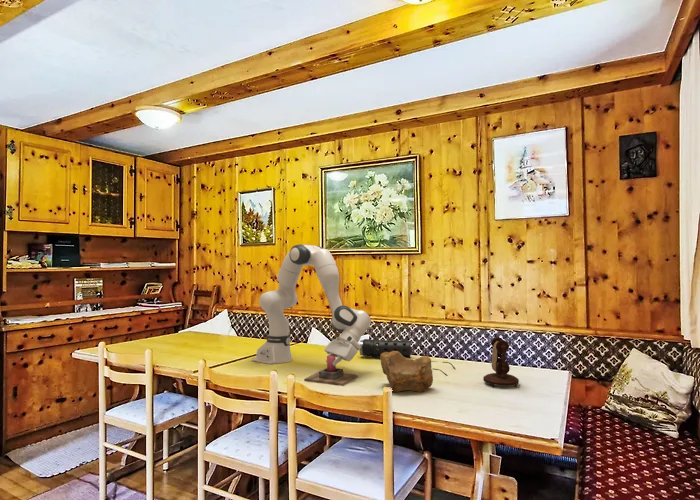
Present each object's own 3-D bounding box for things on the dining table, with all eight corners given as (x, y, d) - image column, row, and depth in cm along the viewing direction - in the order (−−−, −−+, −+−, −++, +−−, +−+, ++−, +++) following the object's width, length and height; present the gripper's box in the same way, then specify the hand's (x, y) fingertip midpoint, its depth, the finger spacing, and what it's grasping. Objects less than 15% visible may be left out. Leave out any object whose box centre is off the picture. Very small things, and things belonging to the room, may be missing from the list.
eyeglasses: (421, 365, 231) (421, 355, 231) (456, 369, 221) (456, 359, 221) (410, 372, 217) (409, 362, 217) (447, 377, 208) (446, 366, 208)
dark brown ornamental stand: (479, 379, 201) (478, 335, 201) (512, 379, 201) (511, 335, 201) (488, 389, 186) (487, 341, 187) (524, 389, 186) (523, 341, 186)
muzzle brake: (409, 361, 240) (409, 341, 240) (359, 359, 245) (359, 340, 246) (410, 357, 249) (410, 338, 249) (362, 355, 255) (362, 337, 255)
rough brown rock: (370, 393, 185) (370, 358, 184) (383, 380, 200) (383, 347, 199) (425, 402, 176) (424, 365, 175) (434, 387, 191) (434, 353, 190)
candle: (325, 374, 205) (325, 355, 205) (329, 372, 208) (329, 353, 208) (333, 374, 203) (333, 355, 203) (337, 372, 207) (336, 354, 207)
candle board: (304, 380, 203) (304, 372, 203) (321, 372, 217) (320, 364, 217) (343, 385, 194) (343, 376, 194) (358, 376, 208) (357, 368, 209)
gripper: (332, 333, 218) (315, 355, 213) (355, 339, 201) (336, 363, 196) (340, 341, 221) (323, 363, 215) (363, 348, 203) (345, 372, 198)
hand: (330, 363), depth 205 cm, fingers closed on candle, 4 cm apart
